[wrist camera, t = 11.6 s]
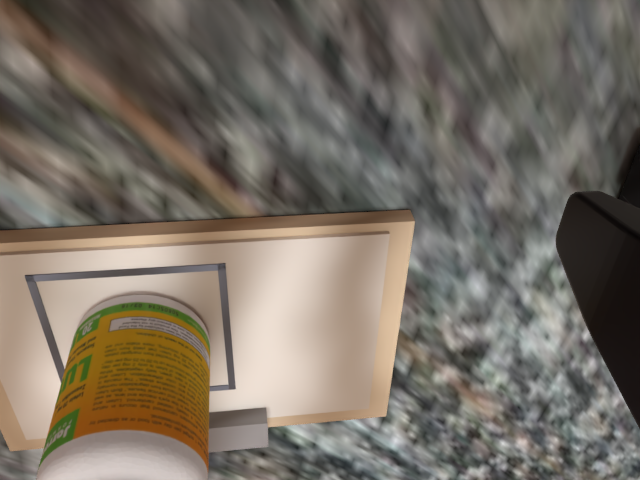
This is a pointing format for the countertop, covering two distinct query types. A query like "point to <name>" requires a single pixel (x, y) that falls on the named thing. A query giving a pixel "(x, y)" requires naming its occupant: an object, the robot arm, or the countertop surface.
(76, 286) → the beige rectangular board
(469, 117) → the countertop surface
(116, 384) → the supplement bottle
